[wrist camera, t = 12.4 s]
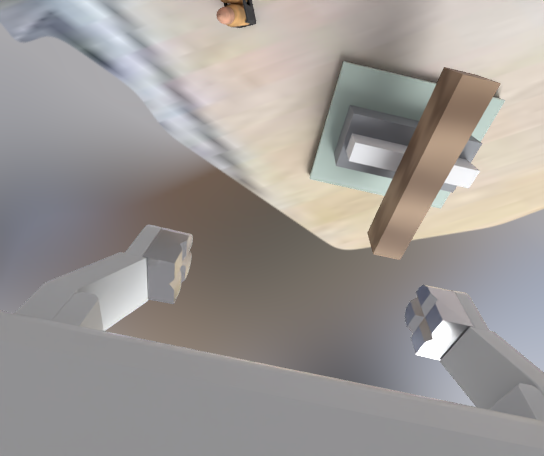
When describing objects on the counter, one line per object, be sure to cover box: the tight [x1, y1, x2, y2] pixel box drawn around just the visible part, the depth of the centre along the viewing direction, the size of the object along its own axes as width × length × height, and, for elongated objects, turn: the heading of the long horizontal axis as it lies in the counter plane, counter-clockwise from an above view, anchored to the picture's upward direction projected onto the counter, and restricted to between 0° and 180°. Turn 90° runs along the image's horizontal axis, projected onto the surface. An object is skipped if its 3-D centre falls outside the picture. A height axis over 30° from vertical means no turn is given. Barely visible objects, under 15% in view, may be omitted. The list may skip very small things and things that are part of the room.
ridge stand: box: [310, 61, 505, 208], centre depth 36 cm, size 14×18×8 cm
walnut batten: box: [368, 67, 501, 260], centre depth 31 cm, size 18×3×4 cm, turn 169°
